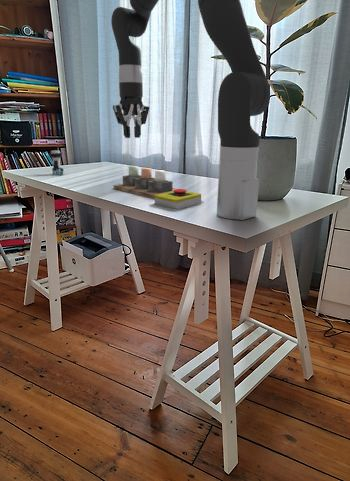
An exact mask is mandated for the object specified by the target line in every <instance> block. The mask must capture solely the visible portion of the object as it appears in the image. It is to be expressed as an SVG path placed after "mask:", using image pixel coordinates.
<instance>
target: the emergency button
mask: <svg viewBox="0 0 350 481" xmlns="http://www.w3.org/2000/svg"><path fill="white" fill-rule="evenodd" d="M204 203H205V201H204V200H202V193H200V192H194V191H188V190H186V189H183V188H175V190H173V191H171V192H167V193H162V194H157V195H155V199H154V203H151V204H149V207H153V208H157V209H161V210H164V211H169V212H173V211H174V212H175V211H177V210H180V209H181V208H182V209H186V208H189V207H193V206H197V205H201V204H204ZM185 207H186V208H185ZM182 209H181V210H182Z"/></svg>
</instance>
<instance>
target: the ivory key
mask: <svg viewBox="0 0 350 481" xmlns="http://www.w3.org/2000/svg"><path fill="white" fill-rule="evenodd" d="M166 173H167V172H166V170H163V169H162V170H161V169H159V170H154V178H155V182H158V183H162V182H166V180H167V179H166V176H167V174H166Z"/></svg>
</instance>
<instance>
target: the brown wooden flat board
mask: <svg viewBox="0 0 350 481" xmlns="http://www.w3.org/2000/svg"><path fill="white" fill-rule="evenodd" d="M173 184H174V183H173V181H172V180H167V179H166V182H162V183H158V182H155V177H152V179H149V180H143V179H141V174H139V177H129V174H127V175H122V183H120V184H119V183H118V184H113V189H114V190H119V191H122V192H126V193H131V194H134V195H138V196H142V197H146V198H150V199H154V200H155V195H157V194H162V193H167V192H171V191H173V190H175V189H176V188H175V187H173Z"/></svg>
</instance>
